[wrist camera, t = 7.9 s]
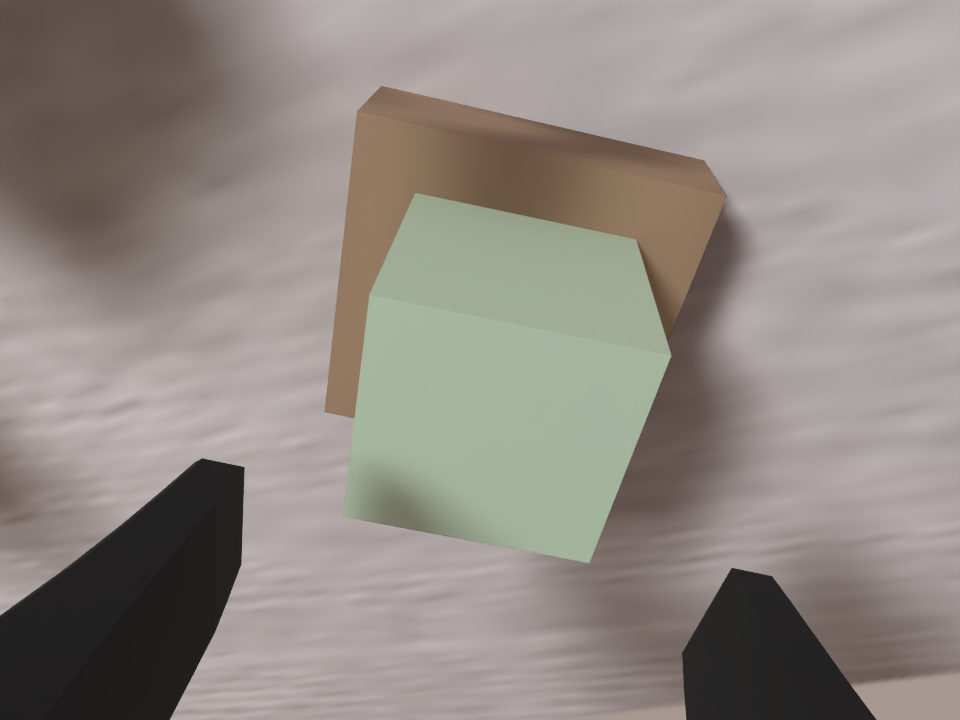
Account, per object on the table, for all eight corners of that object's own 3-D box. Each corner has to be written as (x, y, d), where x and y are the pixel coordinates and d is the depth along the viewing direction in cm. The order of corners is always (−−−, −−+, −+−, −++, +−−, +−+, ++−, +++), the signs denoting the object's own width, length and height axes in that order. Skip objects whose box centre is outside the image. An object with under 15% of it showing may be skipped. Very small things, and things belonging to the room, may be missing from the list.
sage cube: (635, 239, 16) (671, 355, 12) (577, 415, 19) (589, 563, 14) (414, 192, 16) (369, 294, 11) (388, 377, 18) (343, 516, 14)
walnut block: (701, 155, 18) (726, 195, 15) (606, 409, 22) (613, 473, 19) (384, 82, 17) (357, 110, 15) (350, 353, 22) (324, 411, 19)
